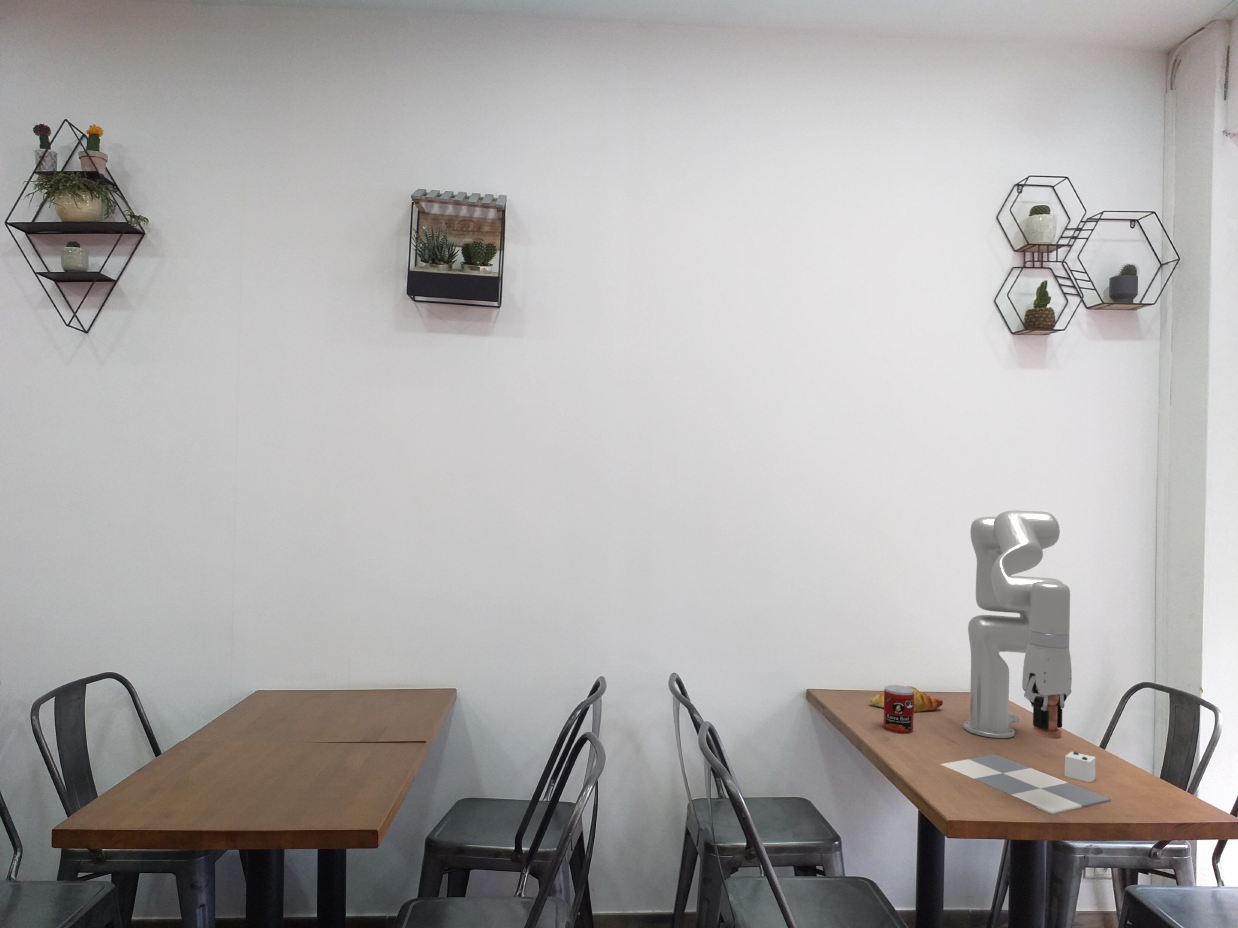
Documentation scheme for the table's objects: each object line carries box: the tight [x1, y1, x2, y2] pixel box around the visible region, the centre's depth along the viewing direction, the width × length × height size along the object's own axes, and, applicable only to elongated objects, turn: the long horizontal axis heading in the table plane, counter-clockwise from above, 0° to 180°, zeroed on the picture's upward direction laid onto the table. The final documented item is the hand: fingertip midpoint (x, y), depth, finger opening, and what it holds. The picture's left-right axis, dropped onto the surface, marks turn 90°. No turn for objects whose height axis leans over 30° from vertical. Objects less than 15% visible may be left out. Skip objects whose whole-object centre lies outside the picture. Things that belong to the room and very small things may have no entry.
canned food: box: [883, 684, 915, 734], centre depth 210 cm, size 8×8×11 cm
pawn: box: [1033, 691, 1063, 740], centre depth 164 cm, size 5×5×10 cm
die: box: [1064, 751, 1097, 783], centre depth 178 cm, size 5×5×6 cm
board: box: [939, 754, 1112, 815], centre depth 174 cm, size 19×28×1 cm, turn 25°
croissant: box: [869, 685, 944, 713], centre depth 231 cm, size 21×10×8 cm, turn 86°
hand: (1047, 725), depth 164 cm, fingers closed on pawn, 3 cm apart
